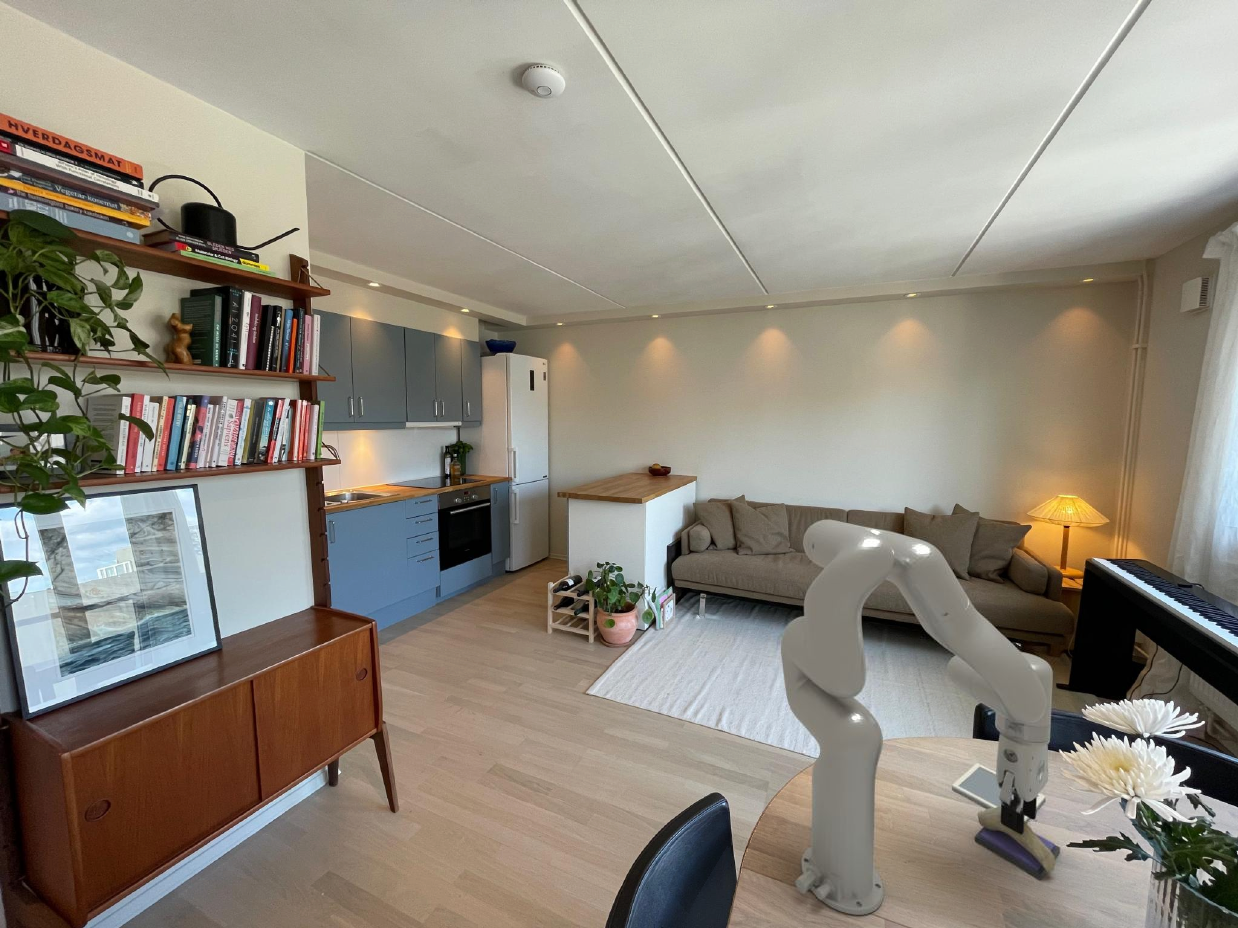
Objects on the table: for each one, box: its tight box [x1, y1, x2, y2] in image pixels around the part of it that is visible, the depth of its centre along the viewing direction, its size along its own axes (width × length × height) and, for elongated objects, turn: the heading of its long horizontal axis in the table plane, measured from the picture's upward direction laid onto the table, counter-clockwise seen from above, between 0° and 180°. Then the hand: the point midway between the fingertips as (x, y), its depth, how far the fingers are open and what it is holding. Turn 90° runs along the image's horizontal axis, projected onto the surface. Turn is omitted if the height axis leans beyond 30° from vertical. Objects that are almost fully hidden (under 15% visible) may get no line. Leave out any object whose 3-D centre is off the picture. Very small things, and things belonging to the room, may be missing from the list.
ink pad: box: [974, 827, 1061, 881], centre depth 89 cm, size 10×10×2 cm
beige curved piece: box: [977, 806, 1056, 872], centre depth 88 cm, size 11×6×5 cm, turn 23°
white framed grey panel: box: [951, 762, 1046, 824], centre depth 101 cm, size 12×12×1 cm
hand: (1018, 820), depth 88 cm, fingers open, 4 cm apart
